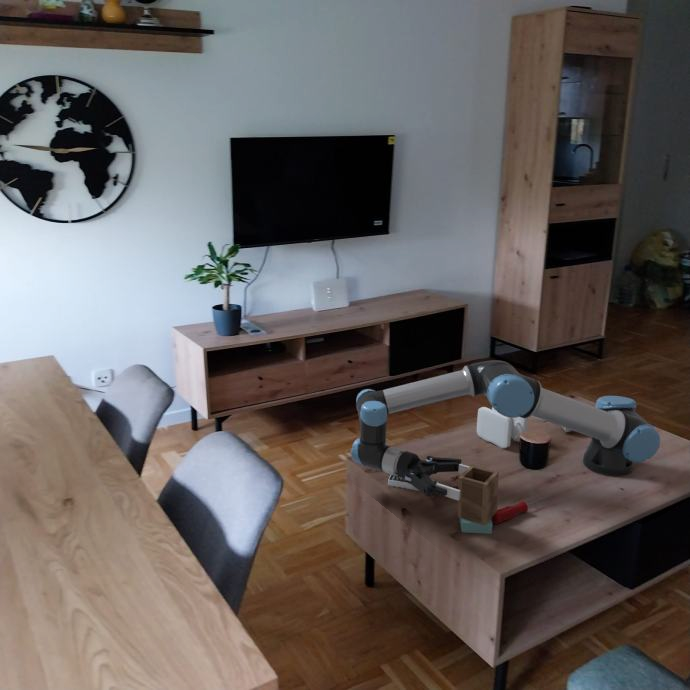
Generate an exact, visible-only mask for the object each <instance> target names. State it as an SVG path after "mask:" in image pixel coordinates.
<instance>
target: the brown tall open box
mask: <svg viewBox="0 0 690 690" xmlns="http://www.w3.org/2000/svg"><path fill="white" fill-rule="evenodd" d="M499 474H500V473H499V472H498V471H494V470H490V469H487V468H483V467H479V466H476V465H475V466H474V465H473V464H472V465H470V466H469V468H468V469H467V470H466V471H465V472H464V473H463V474H459V476H458V477H457V478H458V481H457V483H458V485H457V487H458V490H460V500H459V501H458V500H457V517H458V518H459V519H460V518H463V519H466V520H469V521H472V522H476V523H479V524H482V525H486V524H487V523H488V522H489V520H490V519H491V518H492V517H493V516H494V515H495V513H496V512H497V510H498V498H499V497H498V494H499Z"/></svg>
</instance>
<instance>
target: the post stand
mask: <svg viewBox="0 0 690 690" xmlns="http://www.w3.org/2000/svg"><path fill="white" fill-rule="evenodd" d="M459 523H460V524H459V525H460V529H461V533H471V534H472V533H473V534H486V535H487V534H491V535H492V533H493V522H492V520H491V519H490V520H489V522H488V523H487V524H486V525H482V524H479V523H476V522H472V521H469V520H466V519H463V518H459Z"/></svg>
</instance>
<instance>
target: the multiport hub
mask: <svg viewBox="0 0 690 690" xmlns="http://www.w3.org/2000/svg"><path fill="white" fill-rule="evenodd" d="M387 480H388V481H387V485H391V486H390V487H393V486H395V487H394V488H399V487H401V489H405V488H406V490H413V491H418V492H420V491H419V490H418V489H417V488H415V487H414V486H413V485H411V484H409V483H407V482H405V479H404V478H401V477H399V476H396V475H391V474H390V475H389V477H388V479H387ZM431 480H432V481H433V482H434V483H435V485H436V486H437V484H438V483H439V482H438V480H434V479H431ZM425 489H426V488H425Z"/></svg>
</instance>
